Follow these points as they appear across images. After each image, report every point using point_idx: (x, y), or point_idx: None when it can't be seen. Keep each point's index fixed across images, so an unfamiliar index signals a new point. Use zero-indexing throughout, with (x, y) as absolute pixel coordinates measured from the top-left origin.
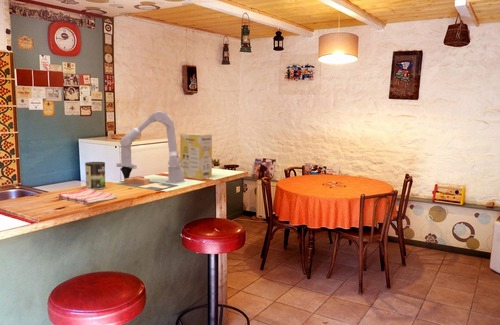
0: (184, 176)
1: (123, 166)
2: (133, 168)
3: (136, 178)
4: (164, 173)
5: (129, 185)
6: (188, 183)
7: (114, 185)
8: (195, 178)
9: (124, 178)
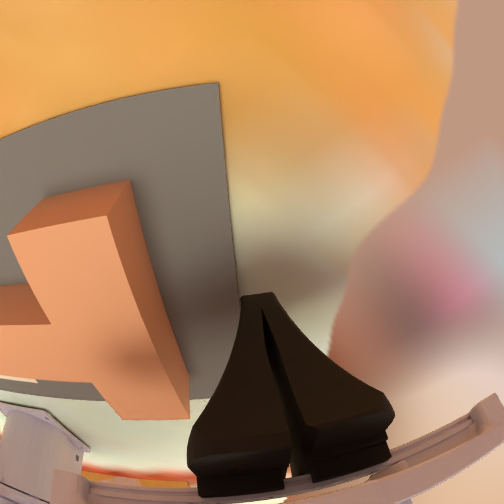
0: (160, 481)
1: (369, 471)
2: (64, 476)
3: (45, 339)
4: (290, 473)
5: (2, 171)
6: (2, 422)
7: (186, 34)
8: (97, 473)
9: (272, 301)
